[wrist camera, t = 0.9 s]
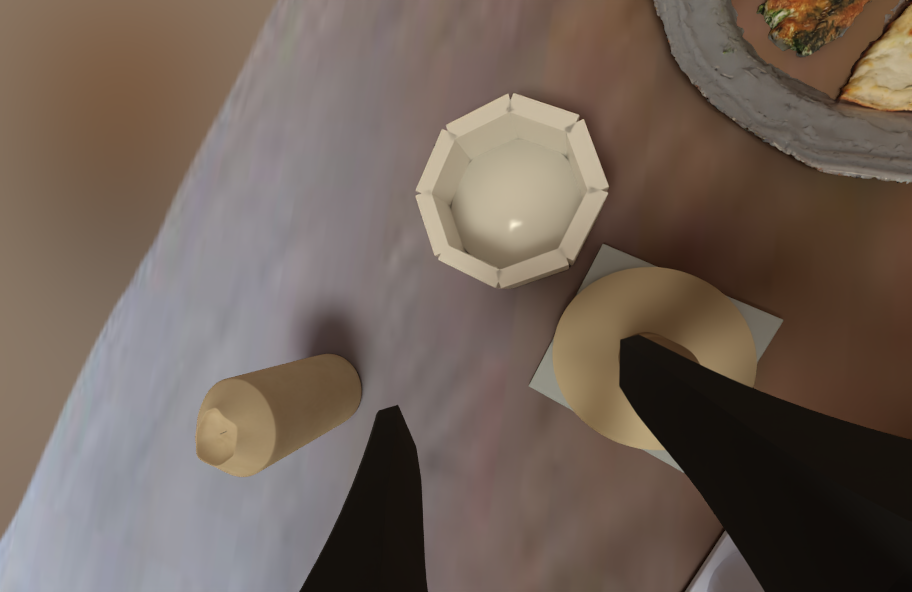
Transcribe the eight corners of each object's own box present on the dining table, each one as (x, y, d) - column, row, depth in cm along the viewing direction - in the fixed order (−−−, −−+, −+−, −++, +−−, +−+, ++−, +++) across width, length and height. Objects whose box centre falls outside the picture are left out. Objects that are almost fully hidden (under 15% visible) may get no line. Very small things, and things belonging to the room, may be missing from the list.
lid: (789, 318, 19) (859, 326, 15) (689, 479, 21) (723, 533, 16) (601, 239, 22) (610, 225, 17) (524, 387, 23) (513, 410, 19)
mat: (779, 319, 20) (783, 320, 19) (685, 471, 21) (687, 474, 21) (602, 244, 22) (603, 243, 22) (529, 384, 24) (528, 386, 23)
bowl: (626, 161, 22) (638, 134, 18) (550, 309, 23) (546, 313, 19) (480, 110, 24) (464, 76, 21) (420, 246, 26) (395, 238, 22)
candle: (313, 342, 29) (187, 367, 19) (371, 370, 27) (265, 413, 18) (294, 404, 29) (162, 459, 20) (350, 435, 28) (236, 511, 18)
